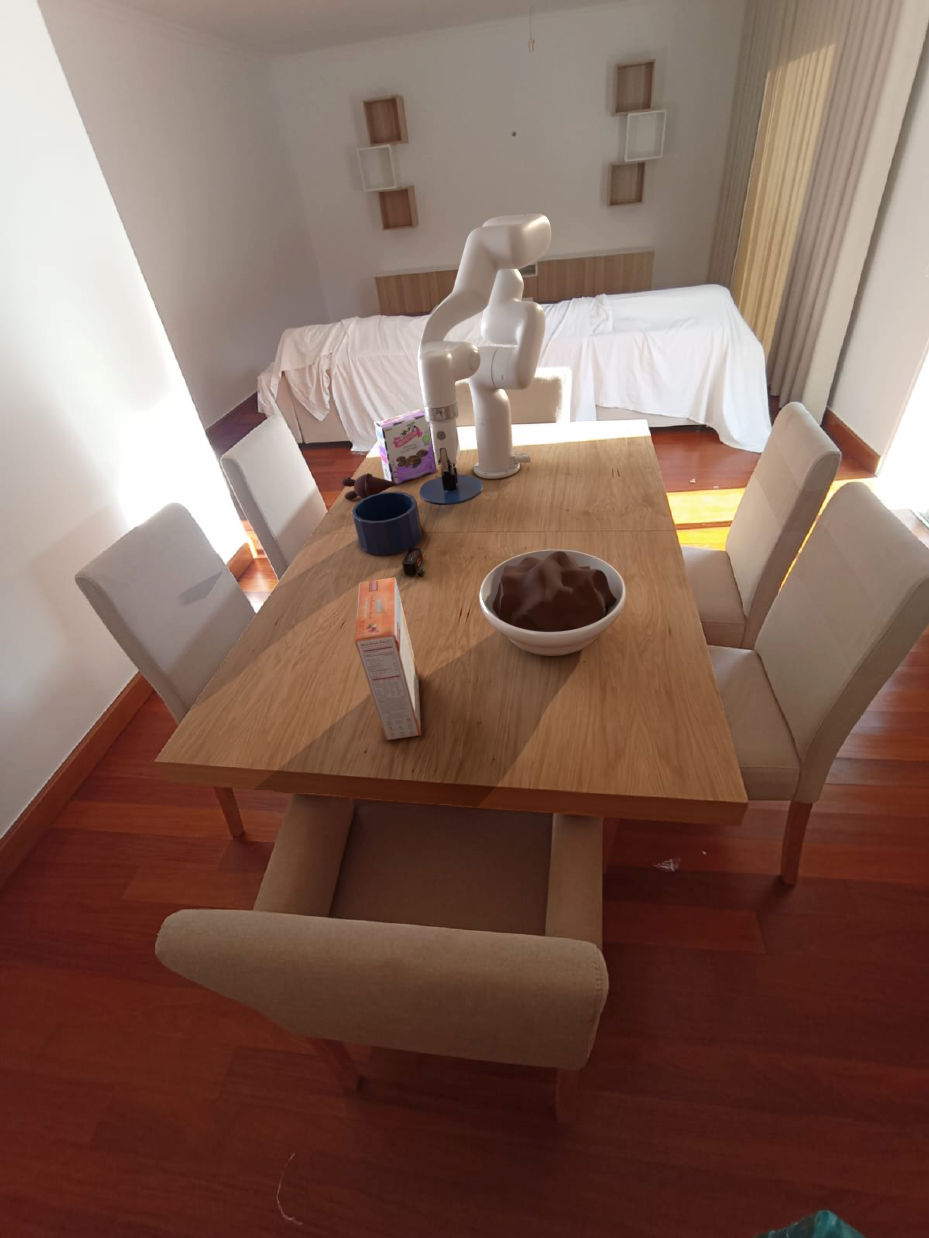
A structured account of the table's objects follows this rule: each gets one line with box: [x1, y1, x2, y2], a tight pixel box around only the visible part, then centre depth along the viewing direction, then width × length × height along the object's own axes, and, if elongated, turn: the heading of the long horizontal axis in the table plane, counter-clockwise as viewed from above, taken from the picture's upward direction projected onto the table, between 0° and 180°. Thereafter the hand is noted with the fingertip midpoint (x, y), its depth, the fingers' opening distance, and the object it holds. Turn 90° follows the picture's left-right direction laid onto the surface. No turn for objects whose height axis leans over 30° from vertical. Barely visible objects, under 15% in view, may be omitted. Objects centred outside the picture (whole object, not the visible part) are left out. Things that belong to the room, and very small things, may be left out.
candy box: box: [373, 408, 437, 486], centre depth 162 cm, size 14×6×16 cm, turn 119°
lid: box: [419, 465, 484, 506], centre depth 144 cm, size 16×16×7 cm
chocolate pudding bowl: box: [478, 549, 627, 657], centre depth 104 cm, size 25×25×15 cm
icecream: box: [340, 472, 397, 501], centre depth 157 cm, size 7×7×15 cm
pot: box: [351, 491, 423, 557], centre depth 138 cm, size 15×15×8 cm
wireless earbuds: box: [401, 547, 425, 578], centre depth 128 cm, size 5×7×3 cm, turn 167°
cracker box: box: [354, 576, 422, 741], centre depth 91 cm, size 14×6×21 cm, turn 5°
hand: (450, 485), depth 145 cm, fingers closed on lid, 2 cm apart
